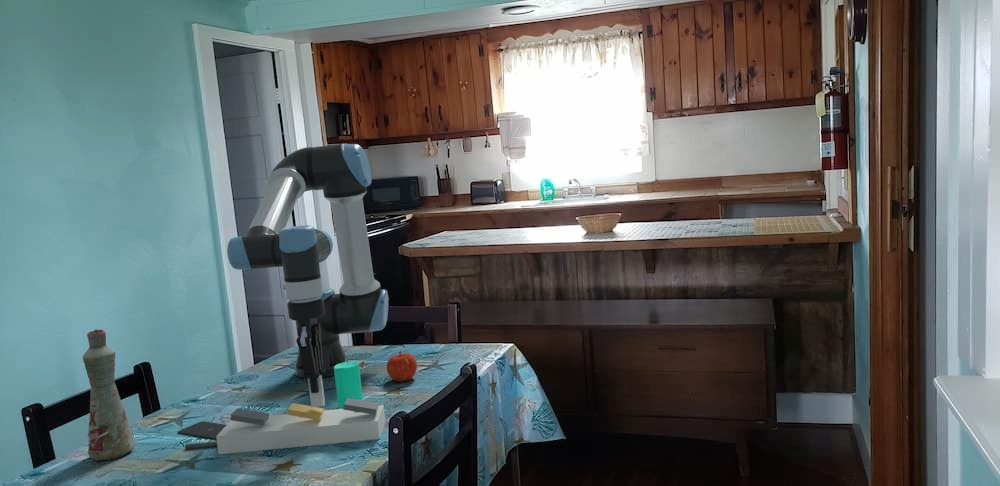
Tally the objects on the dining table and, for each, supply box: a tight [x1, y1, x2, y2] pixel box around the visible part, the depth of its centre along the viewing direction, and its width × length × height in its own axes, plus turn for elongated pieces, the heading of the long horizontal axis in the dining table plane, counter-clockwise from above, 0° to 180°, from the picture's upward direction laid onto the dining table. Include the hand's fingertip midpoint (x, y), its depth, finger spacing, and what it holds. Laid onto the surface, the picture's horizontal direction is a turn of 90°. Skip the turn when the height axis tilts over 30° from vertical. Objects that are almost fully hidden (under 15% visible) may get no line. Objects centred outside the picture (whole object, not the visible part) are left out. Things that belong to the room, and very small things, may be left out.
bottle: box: [82, 328, 136, 461], centre depth 154 cm, size 9×9×28 cm
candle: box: [334, 359, 364, 409], centre depth 174 cm, size 6×6×12 cm
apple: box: [386, 350, 418, 383], centre depth 192 cm, size 8×8×8 cm
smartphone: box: [177, 420, 227, 441], centre depth 165 cm, size 7×1×15 cm
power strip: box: [184, 404, 386, 455], centre depth 156 cm, size 10×43×4 cm, turn 92°
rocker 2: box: [286, 402, 325, 420], centre depth 154 cm, size 4×7×1 cm, turn 92°
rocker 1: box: [230, 408, 270, 425], centre depth 154 cm, size 4×7×1 cm, turn 92°
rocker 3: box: [343, 398, 380, 415], centre depth 155 cm, size 4×7×1 cm, turn 92°
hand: (318, 405), depth 155 cm, fingers closed
